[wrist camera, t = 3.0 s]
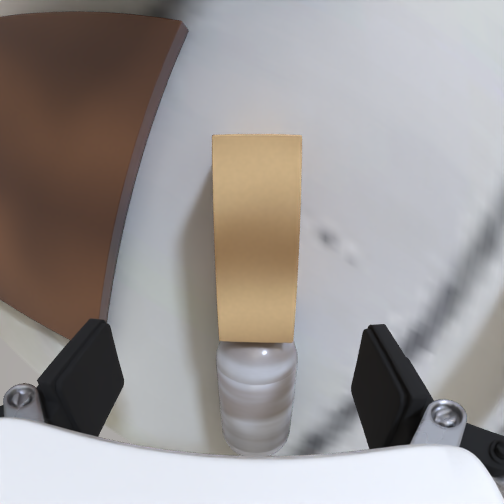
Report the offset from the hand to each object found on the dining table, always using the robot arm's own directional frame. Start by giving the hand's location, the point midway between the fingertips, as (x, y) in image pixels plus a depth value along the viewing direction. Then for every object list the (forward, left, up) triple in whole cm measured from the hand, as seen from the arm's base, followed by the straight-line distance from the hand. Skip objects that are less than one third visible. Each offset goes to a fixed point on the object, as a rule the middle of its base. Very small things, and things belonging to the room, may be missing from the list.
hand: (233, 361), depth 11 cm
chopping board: (-2, -16, -7) cm, 17 cm away
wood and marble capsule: (+2, +1, -7) cm, 8 cm away
